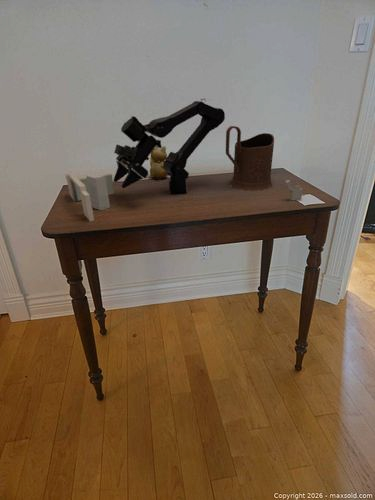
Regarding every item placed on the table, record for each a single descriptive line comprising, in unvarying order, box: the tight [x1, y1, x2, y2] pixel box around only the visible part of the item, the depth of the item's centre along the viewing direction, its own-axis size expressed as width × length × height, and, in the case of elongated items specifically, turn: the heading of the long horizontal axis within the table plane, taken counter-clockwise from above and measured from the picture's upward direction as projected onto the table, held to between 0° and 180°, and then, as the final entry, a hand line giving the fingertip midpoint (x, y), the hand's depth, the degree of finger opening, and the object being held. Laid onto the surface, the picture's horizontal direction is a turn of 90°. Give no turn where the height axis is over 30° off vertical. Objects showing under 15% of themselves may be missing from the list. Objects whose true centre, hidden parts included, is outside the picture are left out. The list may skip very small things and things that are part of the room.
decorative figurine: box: [149, 145, 169, 180], centre depth 145 cm, size 10×8×15 cm
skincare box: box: [85, 173, 111, 211], centre depth 113 cm, size 6×4×12 cm
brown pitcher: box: [225, 125, 275, 192], centre depth 129 cm, size 18×24×25 cm
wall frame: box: [65, 172, 95, 222], centre depth 114 cm, size 32×2×11 cm, turn 30°
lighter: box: [284, 178, 304, 202], centre depth 115 cm, size 7×2×8 cm, turn 101°
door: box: [71, 173, 115, 202], centre depth 124 cm, size 16×2×8 cm, turn 120°
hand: (118, 184), depth 115 cm, fingers open, 9 cm apart
